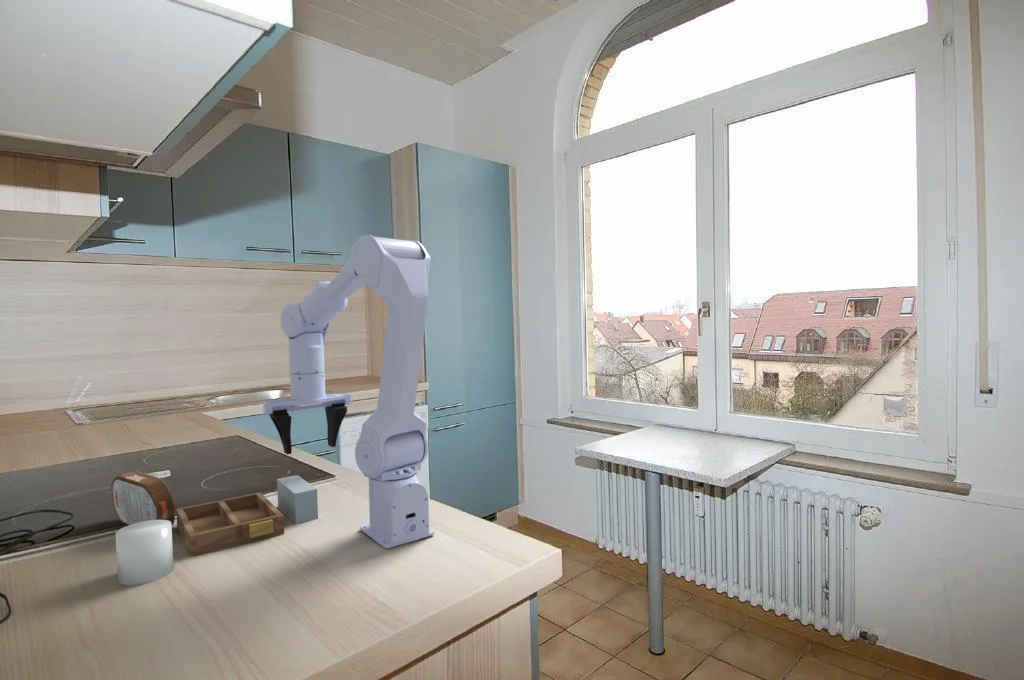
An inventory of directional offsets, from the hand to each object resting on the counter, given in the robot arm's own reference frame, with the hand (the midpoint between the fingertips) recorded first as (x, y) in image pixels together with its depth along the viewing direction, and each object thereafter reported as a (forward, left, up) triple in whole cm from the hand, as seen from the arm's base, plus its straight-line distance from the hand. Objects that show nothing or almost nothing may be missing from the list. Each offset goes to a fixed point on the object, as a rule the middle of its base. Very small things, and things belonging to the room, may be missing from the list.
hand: (310, 449), depth 98 cm
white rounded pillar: (-14, +26, -9) cm, 31 cm away
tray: (-5, +14, -9) cm, 18 cm away
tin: (+5, +25, -10) cm, 27 cm away
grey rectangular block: (-4, +4, -9) cm, 11 cm away
